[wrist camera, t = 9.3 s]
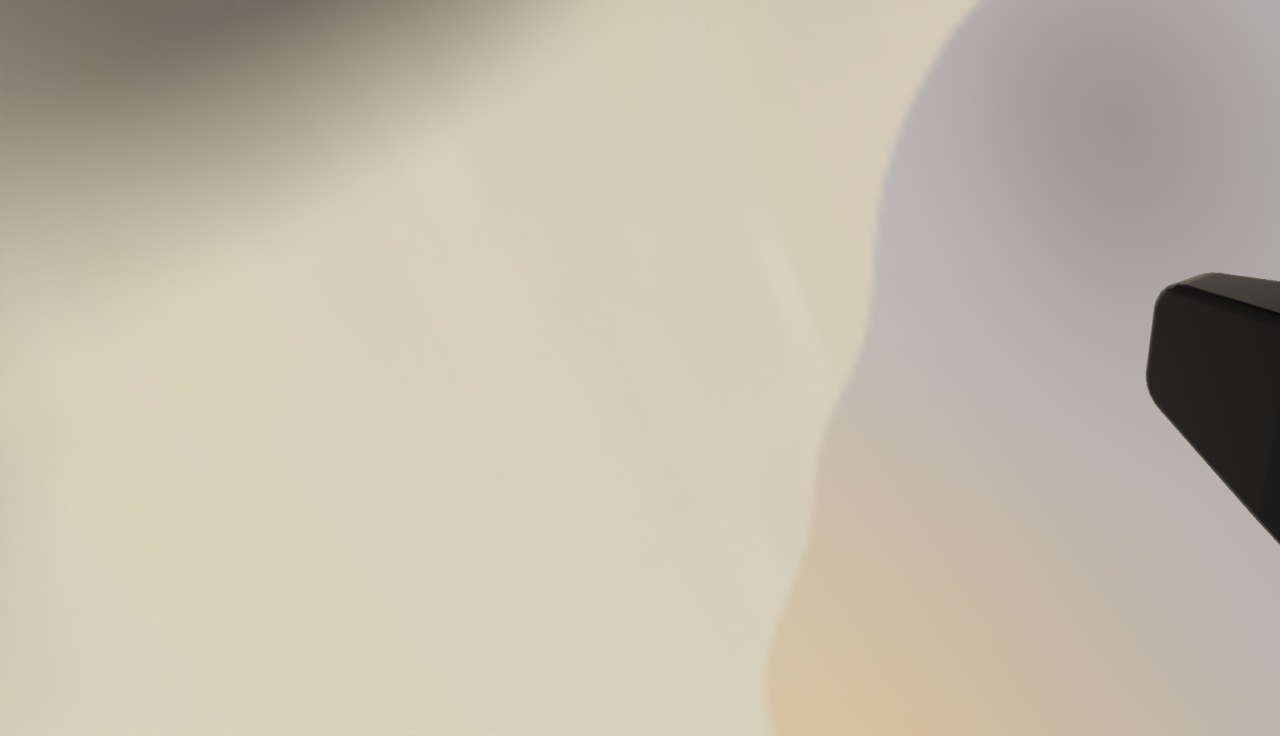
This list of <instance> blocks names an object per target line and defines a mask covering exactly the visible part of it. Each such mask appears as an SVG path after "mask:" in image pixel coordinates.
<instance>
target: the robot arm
mask: <svg viewBox="0 0 1280 736" xmlns="http://www.w3.org/2000/svg"><path fill="white" fill-rule="evenodd" d="M1146 382H1147V387H1148V390H1149V393H1150V396H1151V397H1152V399H1153V401H1154V403H1155V404H1156V406H1157V407H1158V408H1159V409H1160V410H1161V412H1162V413H1163V414H1164V415H1165V416H1166V417H1167V419H1168V420H1169V421H1170V422H1171V423H1172V424H1173V425H1174V426H1175V428H1176V429H1177V430H1178V431H1179V432H1180V433H1181V434H1182V436H1183V437H1184V438H1185V439H1186V440H1187V441H1188V442H1189V443H1190V445H1191V446H1192V447H1193V448H1194V449H1195V450H1196V451H1197V453H1198V454H1199V455H1200V456H1201V457H1202V458H1203V459H1204V461H1205V462H1206V463H1207V464H1208V465H1209V466H1210V467H1211V468H1212V470H1213V471H1214V472H1215V473H1216V474H1217V475H1218V476H1219V477H1220V479H1221V480H1222V481H1223V482H1224V483H1225V484H1226V486H1227V487H1228V488H1229V489H1230V490H1231V491H1232V492H1233V493H1234V495H1235V496H1236V497H1237V498H1238V499H1239V500H1240V501H1241V503H1242V504H1243V505H1244V506H1245V507H1246V508H1247V509H1248V511H1249V512H1250V513H1251V514H1252V515H1253V516H1254V517H1255V518H1256V520H1257V521H1258V522H1259V523H1260V524H1261V525H1262V526H1263V527H1264V528H1265V529H1266V530H1267V531H1268V533H1269V534H1270V535H1271V536H1272V537H1273V538H1274V539H1275V540H1276V541H1277V542H1278V543H1279V544H1280V281H1273V280H1266V279H1259V278H1251V277H1245V276H1237V275H1230V274H1223V273H1205V274H1201V275H1198V276H1195V277H1192V278H1189V279H1186V280H1183V281H1180V282H1177V283H1174V284H1172V285H1169V286H1168V287H1166V288H1165V289H1164V290H1162V291H1161V293H1160V295H1159V296H1158V298H1157V300H1156V302H1155V306H1154V313H1153V321H1152V329H1151V337H1150V344H1149V352H1148V360H1147V368H1146Z"/></svg>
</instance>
